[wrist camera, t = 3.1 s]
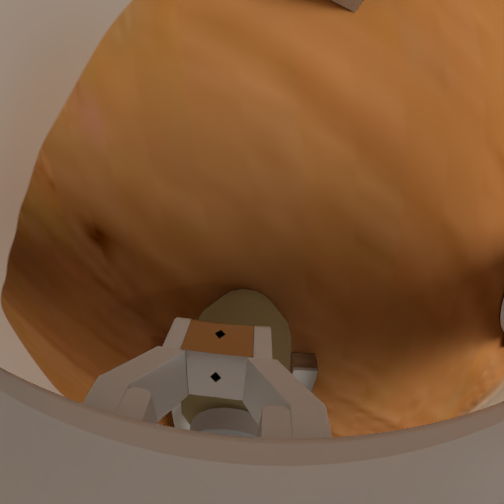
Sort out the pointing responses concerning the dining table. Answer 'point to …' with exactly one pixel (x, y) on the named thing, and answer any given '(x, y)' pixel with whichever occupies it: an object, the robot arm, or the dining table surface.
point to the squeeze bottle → (266, 314)
